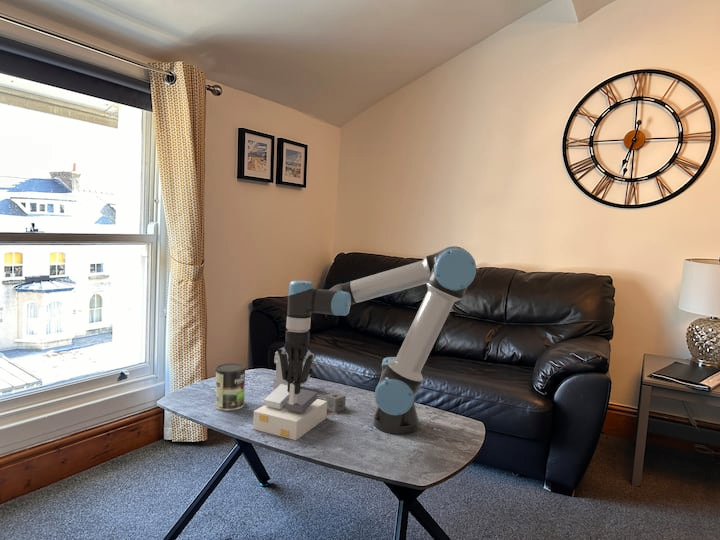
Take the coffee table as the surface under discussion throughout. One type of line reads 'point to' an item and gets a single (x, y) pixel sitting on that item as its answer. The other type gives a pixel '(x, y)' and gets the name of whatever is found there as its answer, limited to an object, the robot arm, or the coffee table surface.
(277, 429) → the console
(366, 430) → the coffee table surface
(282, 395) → the block
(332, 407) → the dice cube
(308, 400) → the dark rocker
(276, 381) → the circuit breaker
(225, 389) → the coffee can
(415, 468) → the coffee table surface
